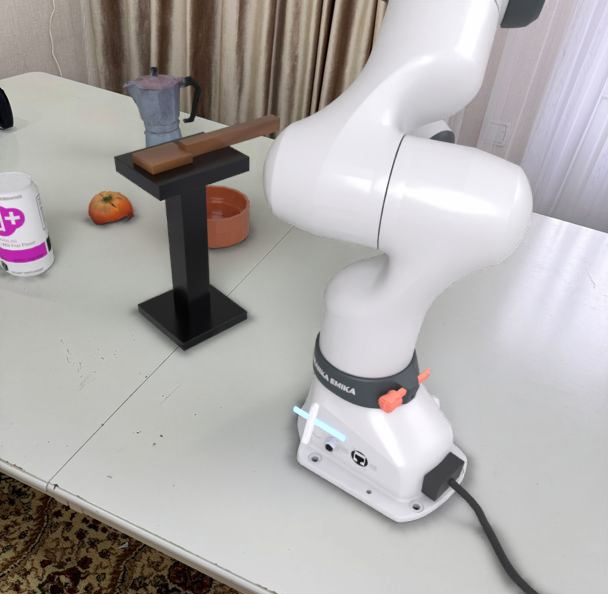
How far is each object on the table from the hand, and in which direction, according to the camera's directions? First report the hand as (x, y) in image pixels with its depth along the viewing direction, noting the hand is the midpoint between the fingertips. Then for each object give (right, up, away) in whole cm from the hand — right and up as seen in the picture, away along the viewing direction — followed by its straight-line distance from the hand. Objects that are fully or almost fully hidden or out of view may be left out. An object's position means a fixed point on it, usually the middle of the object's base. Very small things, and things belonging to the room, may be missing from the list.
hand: (317, 141), depth 96 cm
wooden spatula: (-14, -5, -14) cm, 20 cm away
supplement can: (-48, -18, +8) cm, 52 cm away
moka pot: (-32, +9, +40) cm, 52 cm away
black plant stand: (-19, -27, +1) cm, 33 cm away
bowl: (-19, -10, +20) cm, 29 cm away
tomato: (-39, -7, +21) cm, 45 cm away
